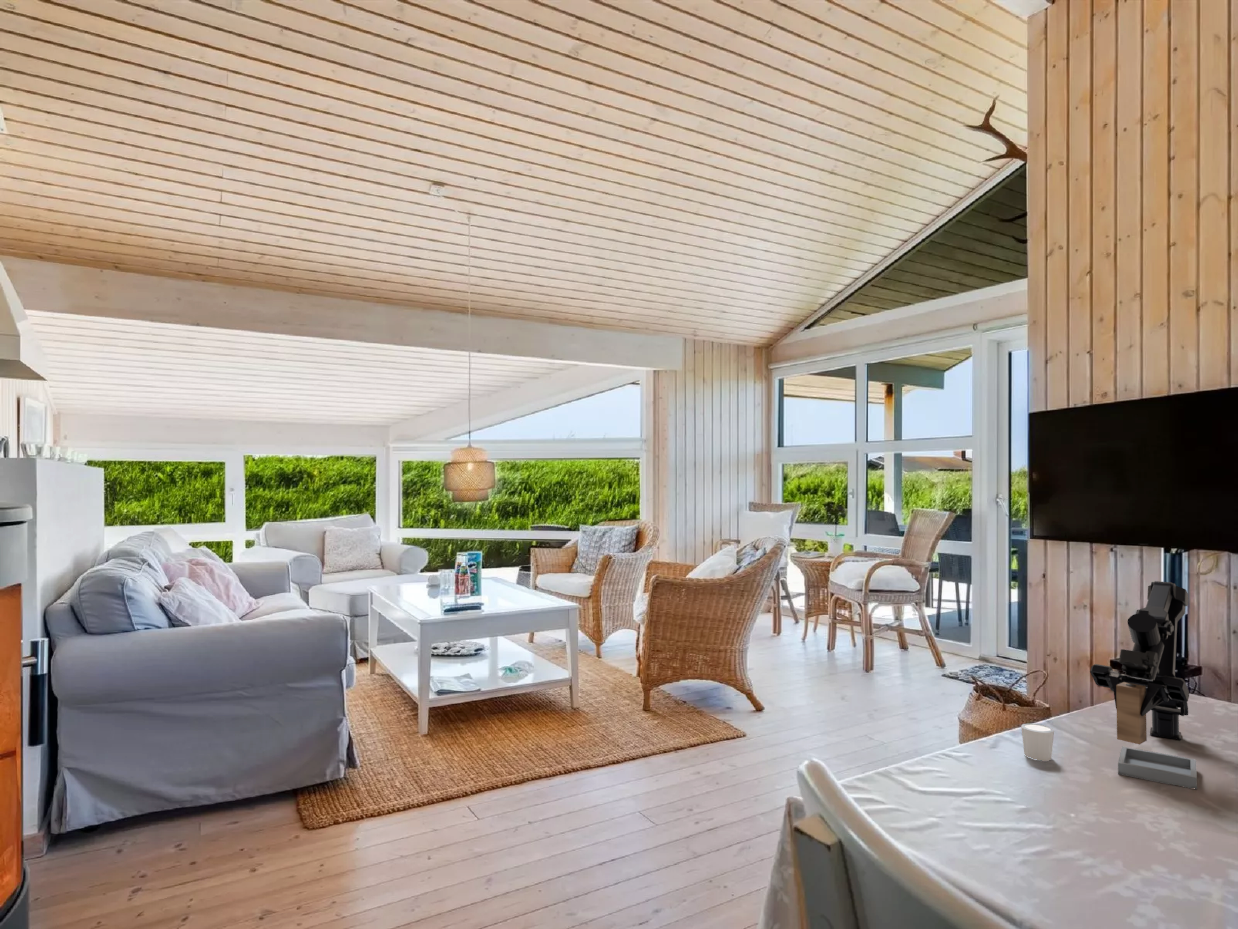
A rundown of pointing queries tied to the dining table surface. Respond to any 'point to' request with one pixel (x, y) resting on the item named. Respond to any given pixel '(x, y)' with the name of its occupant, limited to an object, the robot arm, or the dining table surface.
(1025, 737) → the white cup
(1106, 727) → the dining table surface
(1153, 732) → the robot arm
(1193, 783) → the grey tray
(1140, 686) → the walnut block
